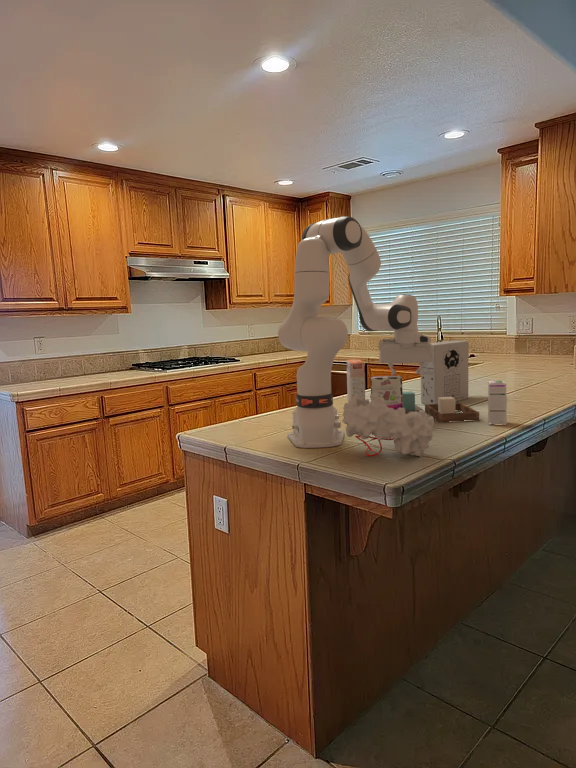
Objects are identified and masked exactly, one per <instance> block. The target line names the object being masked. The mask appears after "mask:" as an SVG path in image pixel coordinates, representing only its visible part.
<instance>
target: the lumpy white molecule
mask: <svg viewBox="0 0 576 768" xmlns="http://www.w3.org/2000/svg"><path fill="white" fill-rule="evenodd" d="M369 398H370V399H371V398H372V401H371V400H369V399H368V398H367V399H366V398H365V400H364V399H363V398H361V397H359V396H358V394H355V395H354V397H352V399H351V403H350V404H348V402H346V403H343V404H344V405H343V413H342V416H343V419H342V423H344V424H345V425H346V426H345V434H346V436H347V437H348V438H352V437H353V436H354V435H355V436H354V437H355V438H356V439H357V440H359V441H361V442H362V443H363V445H364V446H365V447H367V448H366V450H365V454H366V455H365V456H370V457H375V456H378V455H380V454H381V452H382V451H383V445H382V443H381V441H393V443H394V449H395V452H396V453H398V454H401V453H402V455H404V456H405V455H411V456H414V455H415V456H414V457H417V456H421V457H422V452H424V451H425V450H426V449H428V448H429V447H430V444H429V442H430V441H431V440H432V438H433V437H434V435H433V431H434V426H435V419H434V418H433V417H432V416H430V415H428V414H427V413H426V412H425V410H424V409H423V410H424V411H423V410H420V411H419V412H416V411H415V412H409V413H407V414H406V413H405V408H398V409H397V410H394V409H393V408H392V407H393V406H394V405H392V406H389V407H387V406H386V405H385V403H384V398H383V397H378V395H377V394H376V393H374V394H371V393H370V395H369ZM390 407H391V408H390ZM367 439H370V440H377V441H378V443H379V445H375V444H373V443H370V442H369V443H367V442H366V441H365V440H367ZM369 445H371V446H374V447H376V448H380V450H379V451H378V452H376V451H374V450H373V449H372V448H371V446H369ZM368 450H369V451H371V450H372V452H373V453H374V454H369V453H368Z"/></svg>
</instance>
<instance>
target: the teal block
mask: <svg viewBox="0 0 576 768" xmlns="http://www.w3.org/2000/svg"><path fill="white" fill-rule="evenodd" d="M415 405H416V393H415V392H414V391H403V408H405V410H406V409H415Z"/></svg>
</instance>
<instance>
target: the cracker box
mask: <svg viewBox="0 0 576 768" xmlns="http://www.w3.org/2000/svg"><path fill="white" fill-rule="evenodd" d="M365 366H366V363H365V362H364V361H363V360H362V359H359V358H358V359H357V358H355V359H346V387H347V388H346V389H347V391H346V392H347V397H346V398H347V403H348V404H350V403H351V399H352V397H354V395H355V394H358V396H359V397H361V398H363V399H364V400H366V371H365V370H366V367H365Z"/></svg>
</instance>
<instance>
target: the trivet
mask: <svg viewBox="0 0 576 768" xmlns="http://www.w3.org/2000/svg"><path fill="white" fill-rule="evenodd" d="M420 410H423V411H425V409H423V408H422V407H420V406H419V405H417V404H415V409H406V410H405V413H406V414H407V413H409V412H415V411H416V412H419V411H420Z"/></svg>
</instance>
